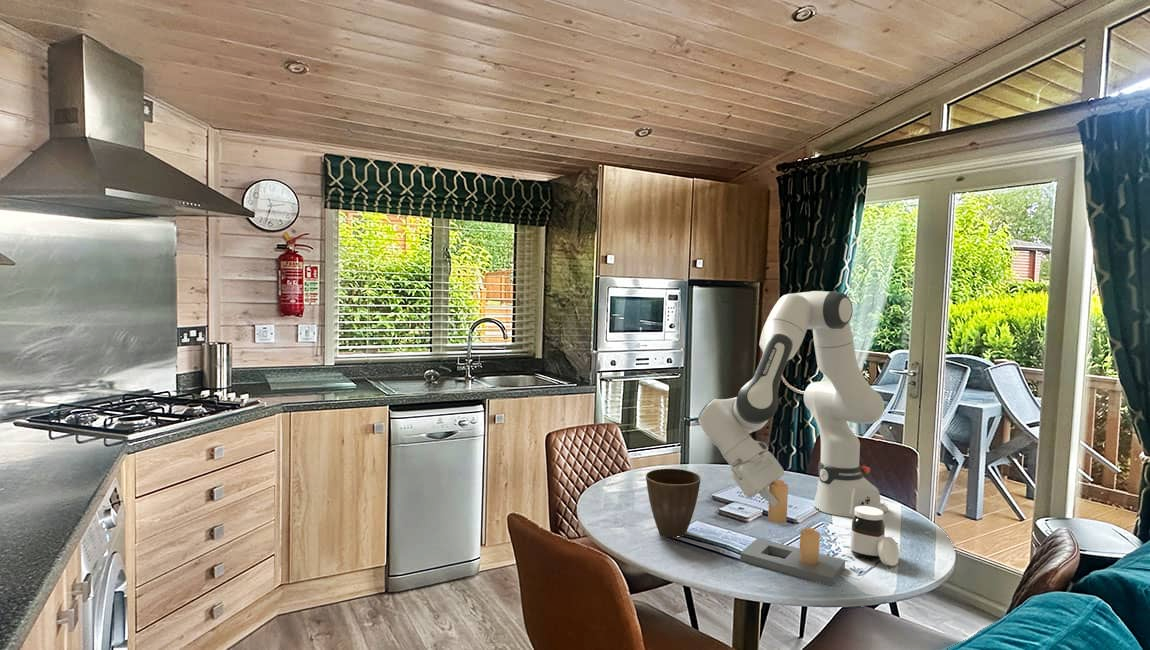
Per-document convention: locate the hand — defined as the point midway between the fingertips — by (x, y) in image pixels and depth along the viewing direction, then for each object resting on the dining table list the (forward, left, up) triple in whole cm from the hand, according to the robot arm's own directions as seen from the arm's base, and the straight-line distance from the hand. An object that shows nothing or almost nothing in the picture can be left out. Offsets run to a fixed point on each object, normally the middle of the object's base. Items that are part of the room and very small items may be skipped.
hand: (780, 501), depth 161 cm
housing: (-2, +3, -15) cm, 16 cm away
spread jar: (-25, +6, -15) cm, 30 cm away
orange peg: (0, -1, -5) cm, 5 cm away
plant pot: (+17, -24, -15) cm, 33 cm away
